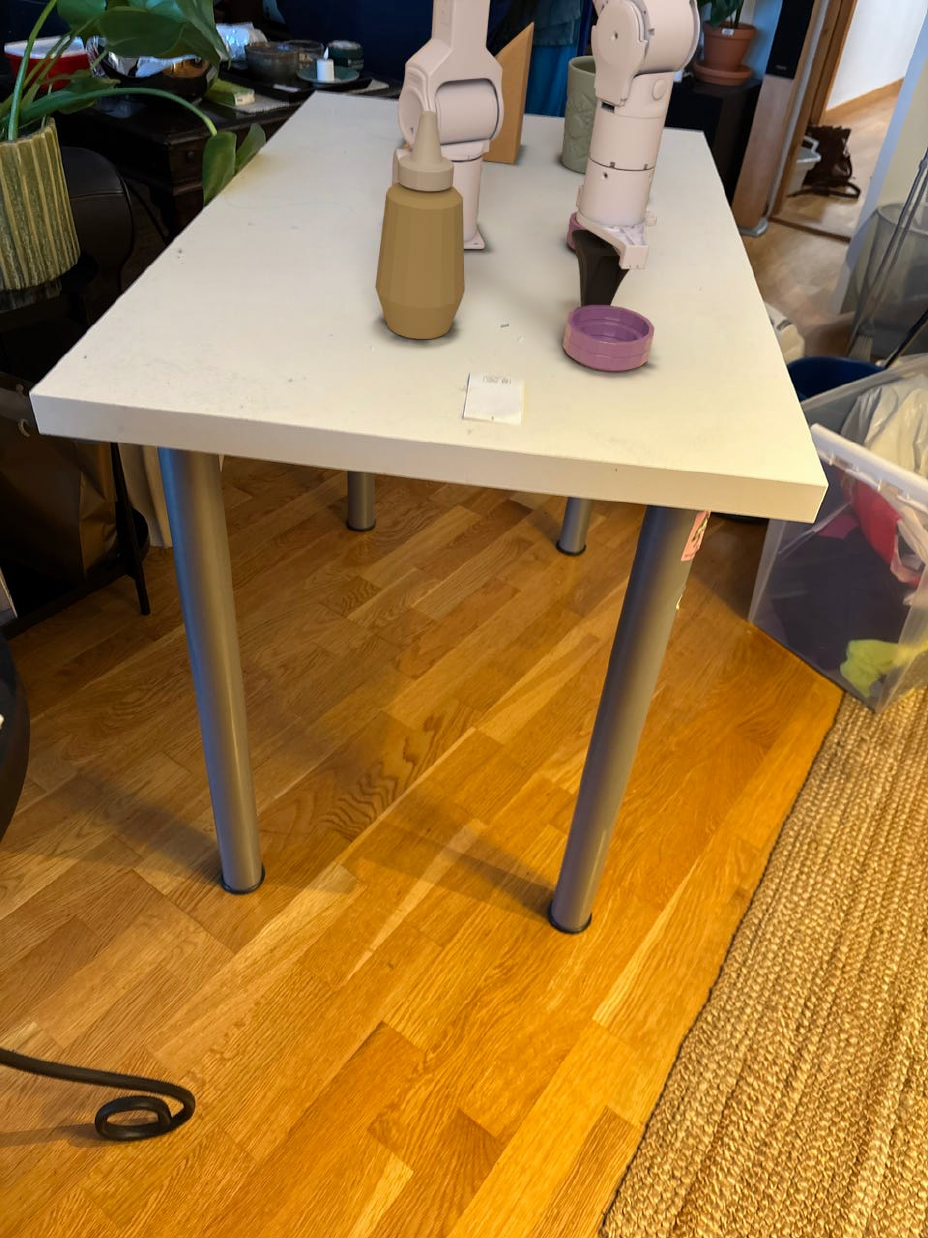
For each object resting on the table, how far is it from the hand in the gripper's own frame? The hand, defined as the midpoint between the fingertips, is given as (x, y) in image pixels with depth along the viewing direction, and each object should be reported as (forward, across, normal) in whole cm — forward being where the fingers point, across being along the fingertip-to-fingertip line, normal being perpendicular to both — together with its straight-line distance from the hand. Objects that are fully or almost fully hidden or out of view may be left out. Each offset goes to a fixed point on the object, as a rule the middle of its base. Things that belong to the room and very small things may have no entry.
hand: (593, 313), depth 86 cm
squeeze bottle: (+2, +1, +16) cm, 17 cm away
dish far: (+2, +20, -7) cm, 21 cm away
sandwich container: (+2, +55, +2) cm, 55 cm away
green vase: (+2, +49, -14) cm, 51 cm away
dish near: (+2, -5, 0) cm, 5 cm away
